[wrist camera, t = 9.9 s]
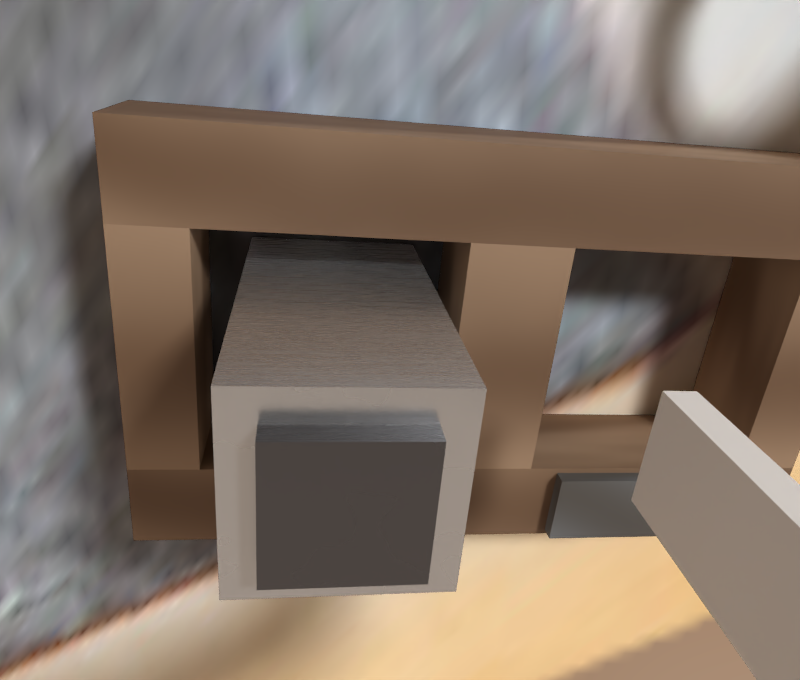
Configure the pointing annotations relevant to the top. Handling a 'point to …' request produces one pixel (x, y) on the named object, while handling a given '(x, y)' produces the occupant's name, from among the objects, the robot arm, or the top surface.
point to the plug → (341, 425)
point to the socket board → (443, 284)
